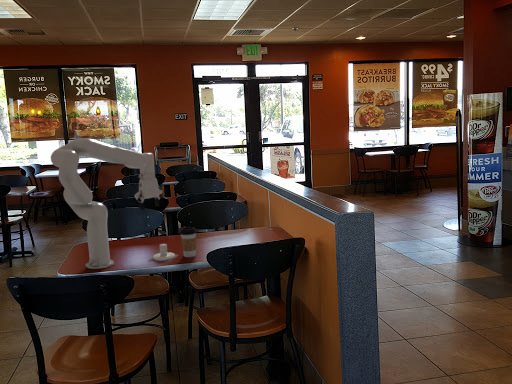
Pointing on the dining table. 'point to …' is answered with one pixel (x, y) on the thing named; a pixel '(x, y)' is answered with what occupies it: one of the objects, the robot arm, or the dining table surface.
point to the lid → (163, 254)
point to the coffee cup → (188, 241)
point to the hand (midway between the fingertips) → (149, 208)
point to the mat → (166, 260)
